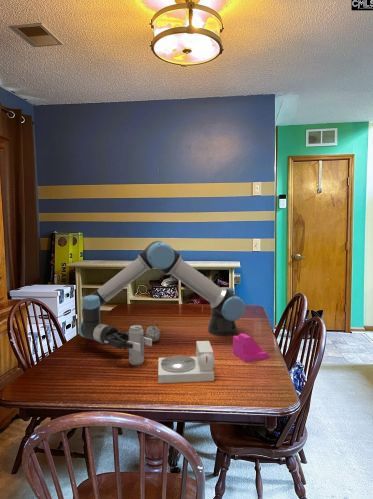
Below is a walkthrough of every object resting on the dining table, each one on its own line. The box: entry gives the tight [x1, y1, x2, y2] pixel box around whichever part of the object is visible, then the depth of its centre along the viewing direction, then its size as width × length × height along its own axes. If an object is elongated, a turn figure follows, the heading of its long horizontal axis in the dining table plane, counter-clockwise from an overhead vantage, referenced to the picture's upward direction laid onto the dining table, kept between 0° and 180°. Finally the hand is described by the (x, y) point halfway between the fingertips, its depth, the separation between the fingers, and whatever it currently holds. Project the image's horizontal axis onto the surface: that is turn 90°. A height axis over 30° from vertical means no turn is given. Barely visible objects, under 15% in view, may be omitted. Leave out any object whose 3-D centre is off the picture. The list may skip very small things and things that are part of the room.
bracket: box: [232, 332, 271, 363], centre depth 150 cm, size 12×10×10 cm
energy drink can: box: [128, 324, 145, 366], centre depth 142 cm, size 6×6×15 cm
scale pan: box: [161, 355, 195, 372], centre depth 133 cm, size 13×13×1 cm
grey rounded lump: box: [144, 324, 163, 343], centre depth 168 cm, size 9×8×10 cm
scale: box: [157, 340, 216, 384], centre depth 133 cm, size 20×16×10 cm
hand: (145, 345), depth 139 cm, fingers closed on energy drink can, 6 cm apart
